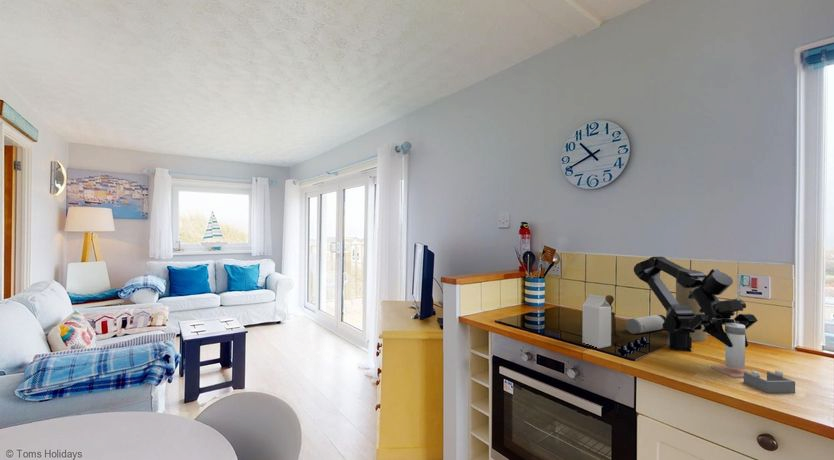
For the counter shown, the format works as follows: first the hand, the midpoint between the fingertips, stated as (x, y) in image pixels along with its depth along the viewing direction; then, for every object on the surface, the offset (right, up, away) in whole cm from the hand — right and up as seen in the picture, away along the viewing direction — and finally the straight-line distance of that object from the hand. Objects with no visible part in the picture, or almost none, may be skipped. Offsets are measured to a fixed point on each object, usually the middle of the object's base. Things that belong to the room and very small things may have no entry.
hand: (739, 346), depth 112 cm
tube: (+13, -9, +37) cm, 40 cm away
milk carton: (-30, -8, +28) cm, 42 cm away
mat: (0, -8, +1) cm, 9 cm away
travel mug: (-8, -5, +43) cm, 44 cm away
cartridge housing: (0, -9, -9) cm, 12 cm away
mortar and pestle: (-22, -8, +33) cm, 41 cm away
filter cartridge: (0, -7, +1) cm, 7 cm away
